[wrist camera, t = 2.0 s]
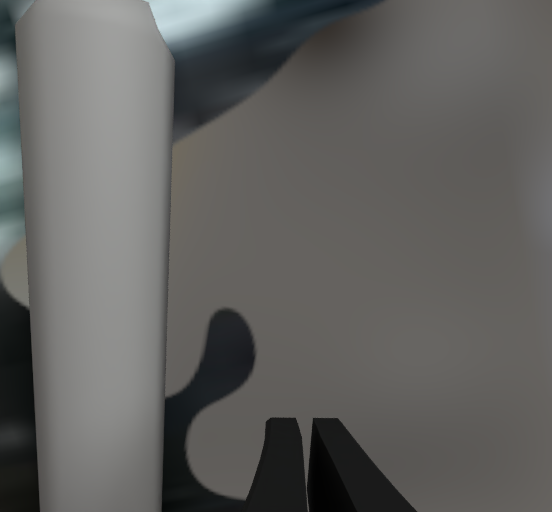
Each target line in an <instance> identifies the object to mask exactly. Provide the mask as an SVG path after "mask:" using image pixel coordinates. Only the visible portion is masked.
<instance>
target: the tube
mask: <svg viewBox="0 0 552 512" xmlns="http://www.w3.org/2000/svg"><path fill="white" fill-rule="evenodd" d="M15 32H16V52H17V71H18V90H19V110H20V129H21V149H22V168H23V187H24V207H25V226H26V245H27V264H28V284H29V304H30V323H31V343H32V362H33V381H34V401H35V420H36V440H37V459H38V478H39V498H40V512H161V507H162V474H163V441H164V407H165V374H166V341H167V307H168V274H169V241H170V240H169V239H170V207H171V173H172V141H173V108H174V75H175V60H174V58H173V56H172V54H171V52H170V51H169V49H168V47H167V45H166V43H165V41H164V39H163V37H162V35H161V34H160V32H159V30H158V27H157V25H156V22H155V19H154V16H153V14H152V11H151V8H150V5H149V3H148V2H145V1H142V0H36V1H35V2H34V3H33V4H32V5H31V6H30V8H29V9H28V10H27V11H26V12H25V14H24V15H23V16H22V17H21V18H20V20H19V21H18V22H17V23H16V24H15Z"/></svg>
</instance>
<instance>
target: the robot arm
mask: <svg viewBox="0 0 552 512" xmlns="http://www.w3.org/2000/svg"><path fill="white" fill-rule="evenodd" d="M307 494H308V504H309V512H417V511H416V510H415V509H414V508H413V507H412V506H411V505H410V504H409V503H408V501H407V500H406V499H405V498H404V497H403V496H402V495H401V494H400V493H399V492H398V490H397V489H396V488H395V487H394V486H393V485H392V484H391V482H390V481H389V480H388V479H387V478H386V477H385V476H384V474H383V473H382V472H381V471H380V470H379V469H378V468H377V466H376V465H375V464H374V463H373V461H372V460H371V459H370V458H369V457H368V455H367V454H366V453H365V452H364V450H363V449H362V448H361V447H360V445H359V444H358V443H357V442H356V440H355V439H354V438H353V437H352V435H351V434H350V433H349V431H348V430H347V429H346V428H345V426H344V425H343V424H342V423H341V421H340V420H339V419H338V418H313V424H312V436H311V447H310V458H309V470H308V482H307ZM241 512H308V510H307V497H306V485H305V472H304V458H303V446H302V436H301V433H300V429H299V426H298V423H297V420H296V418H270V419H269V420H267V421H266V429H265V441H264V446H263V450H262V454H261V458H260V461H259V464H258V467H257V471H256V474H255V477H254V480H253V483H252V486H251V489H250V491H249V494H248V496H247V499H246V501H245V504H244V506H243V509H242V511H241Z"/></svg>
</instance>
